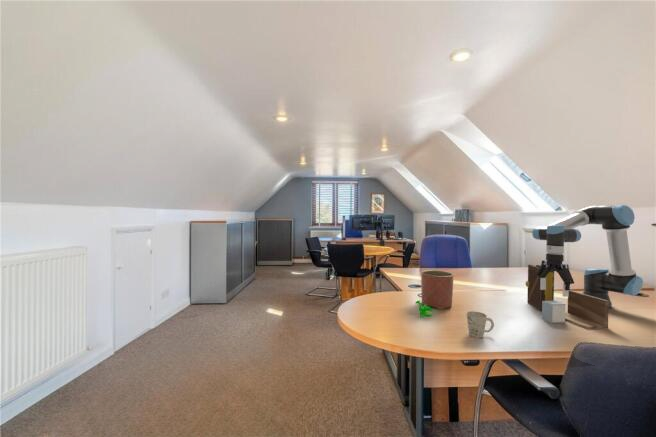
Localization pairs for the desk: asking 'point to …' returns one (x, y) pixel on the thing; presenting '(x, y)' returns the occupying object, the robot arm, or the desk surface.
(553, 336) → the desk surface
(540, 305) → the book
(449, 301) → the planter
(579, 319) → the wooden bookend
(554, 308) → the white block
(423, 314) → the figurine
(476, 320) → the mug
